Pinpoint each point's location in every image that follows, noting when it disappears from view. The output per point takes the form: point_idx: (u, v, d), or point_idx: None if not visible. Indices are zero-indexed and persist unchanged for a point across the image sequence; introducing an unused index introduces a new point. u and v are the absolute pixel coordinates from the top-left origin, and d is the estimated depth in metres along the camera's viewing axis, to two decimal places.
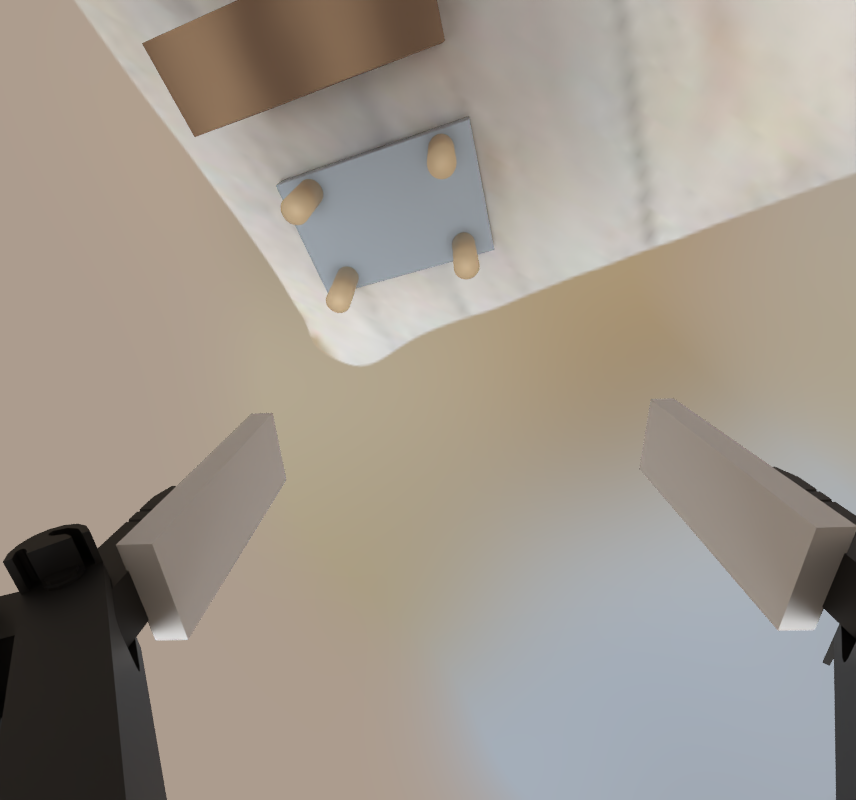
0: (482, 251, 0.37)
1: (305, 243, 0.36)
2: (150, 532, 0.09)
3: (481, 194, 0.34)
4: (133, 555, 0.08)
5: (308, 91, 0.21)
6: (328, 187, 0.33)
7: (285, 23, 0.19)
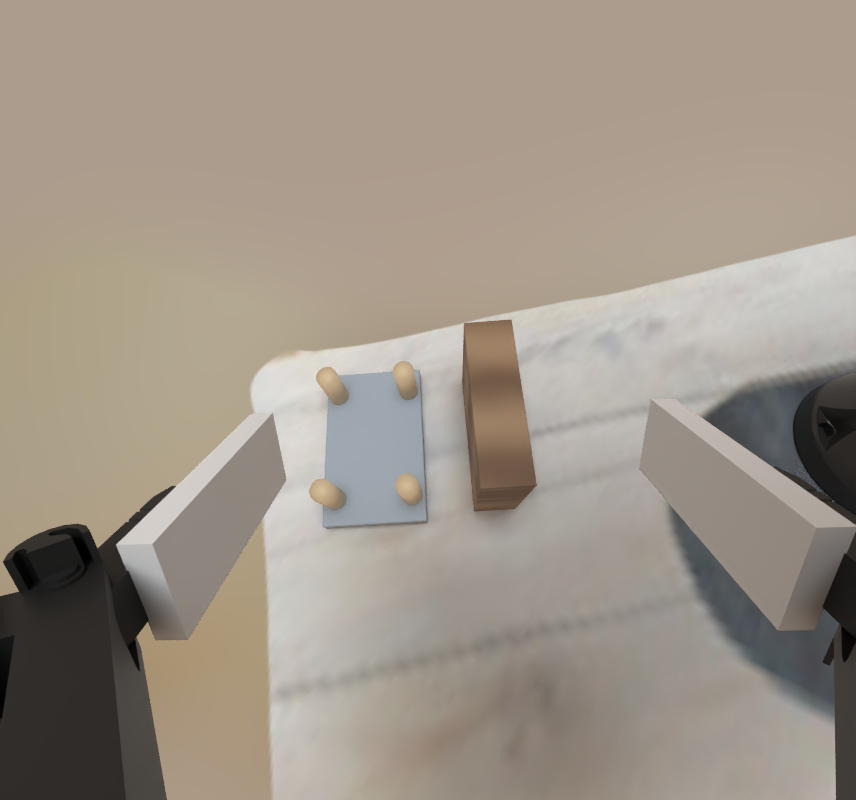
0: (324, 515, 0.40)
1: (375, 374, 0.45)
2: (150, 532, 0.09)
3: (371, 521, 0.39)
4: (133, 555, 0.08)
5: (472, 397, 0.32)
6: (408, 404, 0.44)
7: (506, 396, 0.32)
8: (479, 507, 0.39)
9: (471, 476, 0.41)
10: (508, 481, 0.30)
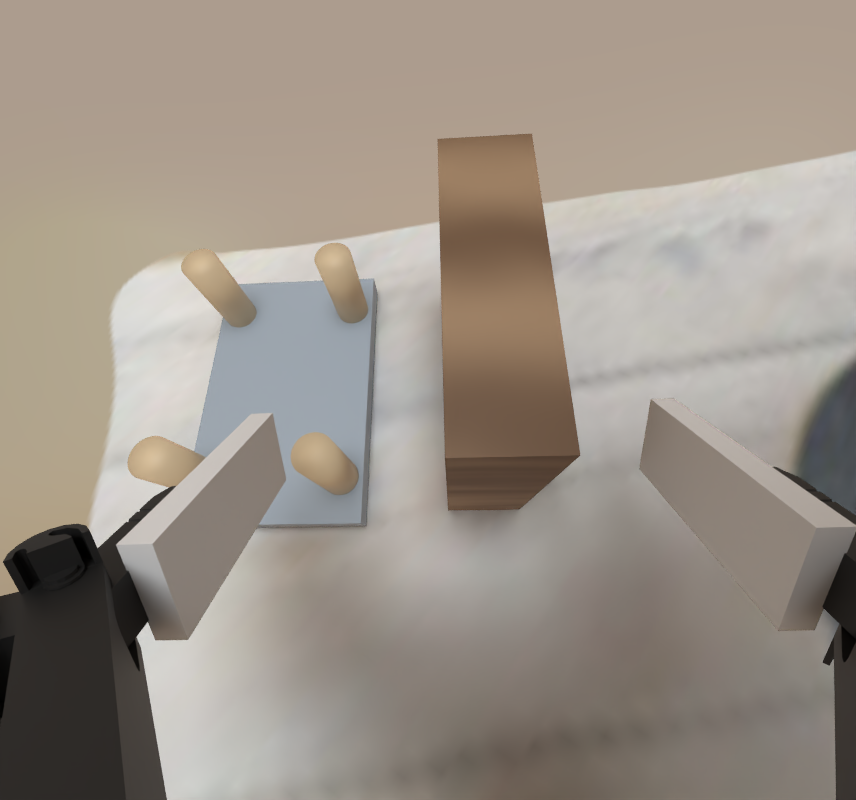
0: None
1: (302, 283, 0.28)
2: (150, 532, 0.09)
3: (264, 520, 0.22)
4: (133, 555, 0.08)
5: (442, 267, 0.15)
6: (350, 330, 0.27)
7: (514, 267, 0.15)
8: (455, 504, 0.21)
9: None
10: (512, 444, 0.12)
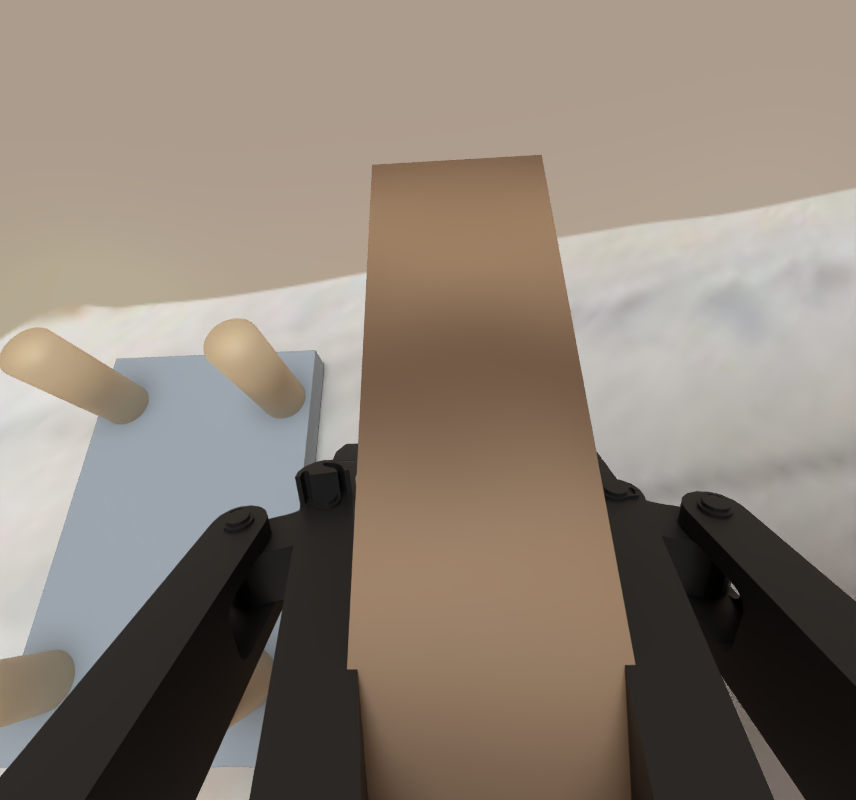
0: (2, 730, 0.15)
1: None
2: None
3: None
4: None
5: (362, 439, 0.07)
6: (278, 429, 0.19)
7: (514, 443, 0.07)
8: None
9: None
10: None
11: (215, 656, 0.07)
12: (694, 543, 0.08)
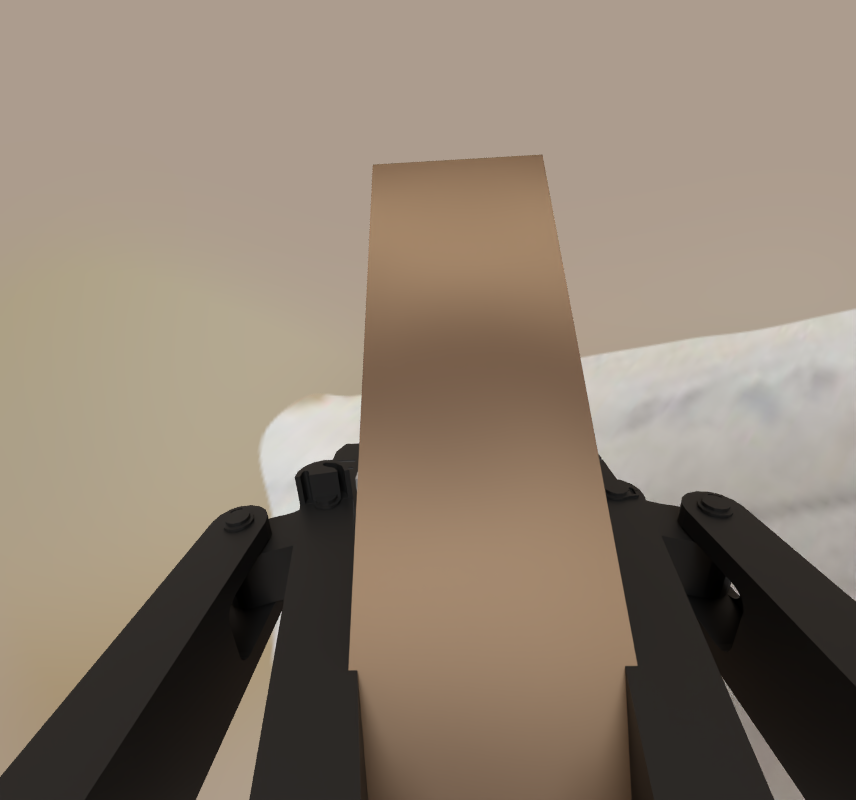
0: None
1: None
2: None
3: None
4: None
5: (363, 440, 0.07)
6: None
7: (516, 443, 0.07)
8: None
9: None
10: None
11: (215, 656, 0.07)
12: (694, 543, 0.08)
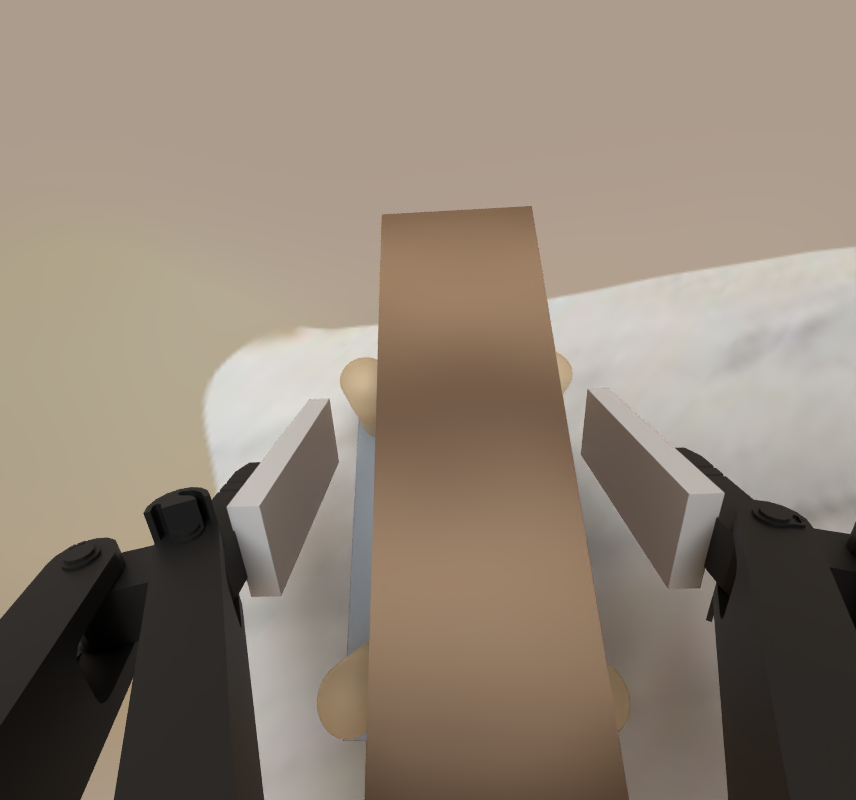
0: None
1: None
2: (253, 497, 0.10)
3: None
4: (240, 516, 0.09)
5: (377, 464, 0.08)
6: None
7: (507, 467, 0.08)
8: None
9: None
10: None
11: (63, 703, 0.06)
12: None
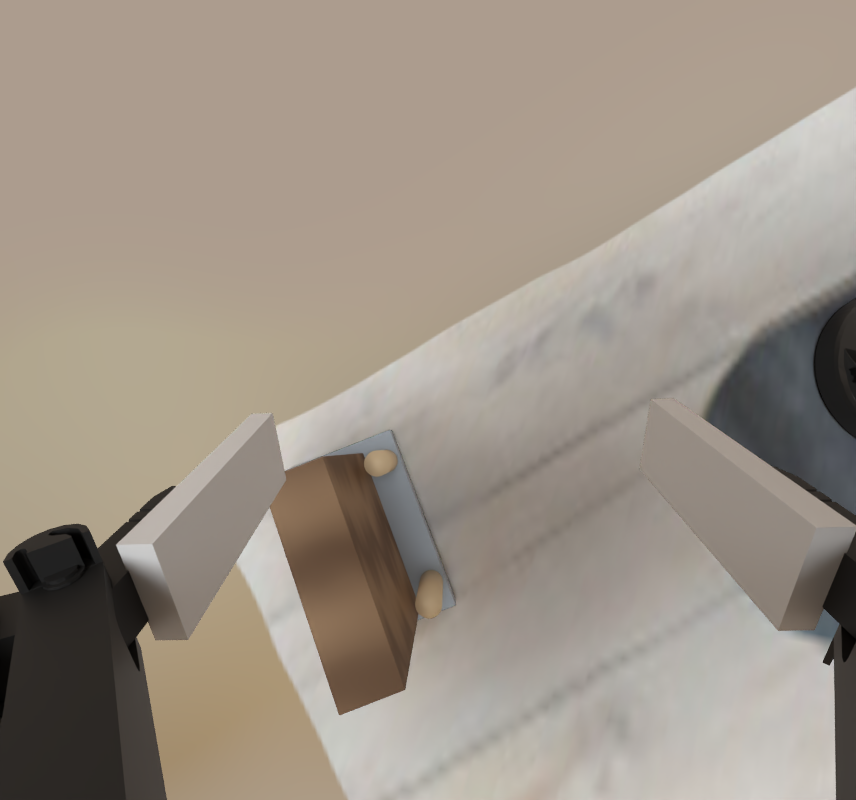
0: None
1: (339, 450, 0.37)
2: (150, 532, 0.09)
3: None
4: (133, 555, 0.08)
5: (298, 591, 0.24)
6: (391, 477, 0.37)
7: (341, 577, 0.24)
8: None
9: None
10: (370, 695, 0.23)
11: None
12: None
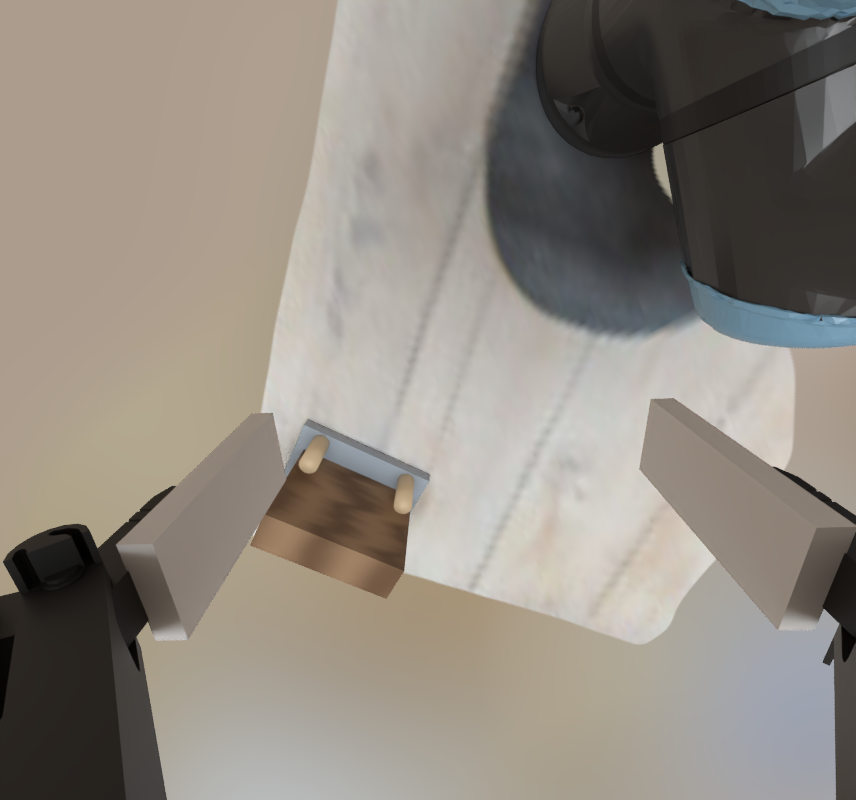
0: None
1: (290, 458, 0.49)
2: (150, 532, 0.09)
3: None
4: (133, 555, 0.08)
5: (318, 571, 0.39)
6: (332, 448, 0.48)
7: (330, 553, 0.39)
8: None
9: None
10: (391, 583, 0.40)
11: None
12: None
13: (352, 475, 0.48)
